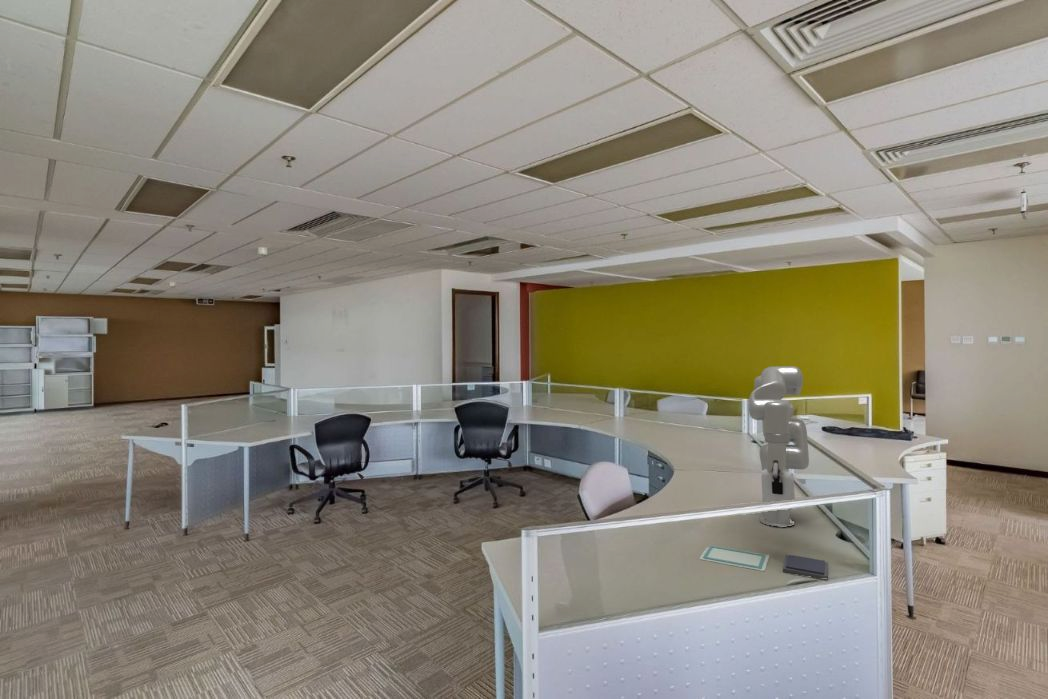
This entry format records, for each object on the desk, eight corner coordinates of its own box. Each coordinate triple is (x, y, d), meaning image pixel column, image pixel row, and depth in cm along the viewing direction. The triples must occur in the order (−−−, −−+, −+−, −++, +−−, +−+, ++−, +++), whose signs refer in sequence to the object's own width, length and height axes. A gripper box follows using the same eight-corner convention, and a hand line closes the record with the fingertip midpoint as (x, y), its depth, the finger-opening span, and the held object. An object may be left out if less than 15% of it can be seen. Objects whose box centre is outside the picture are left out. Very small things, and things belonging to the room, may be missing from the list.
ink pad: (786, 558, 169) (785, 553, 169) (827, 565, 162) (827, 560, 162) (782, 572, 158) (782, 566, 158) (827, 580, 152) (827, 574, 152)
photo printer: (760, 503, 173) (759, 467, 173) (765, 501, 176) (764, 465, 176) (792, 509, 166) (791, 472, 166) (797, 507, 168) (795, 469, 169)
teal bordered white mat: (708, 545, 182) (708, 543, 182) (769, 555, 171) (769, 554, 171) (699, 559, 170) (699, 557, 170) (764, 571, 159) (764, 569, 159)
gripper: (768, 434, 180) (769, 485, 180) (760, 441, 166) (762, 496, 166) (791, 435, 176) (793, 487, 176) (786, 442, 162) (788, 499, 162)
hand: (778, 491), depth 171 cm, fingers closed on photo printer, 5 cm apart
